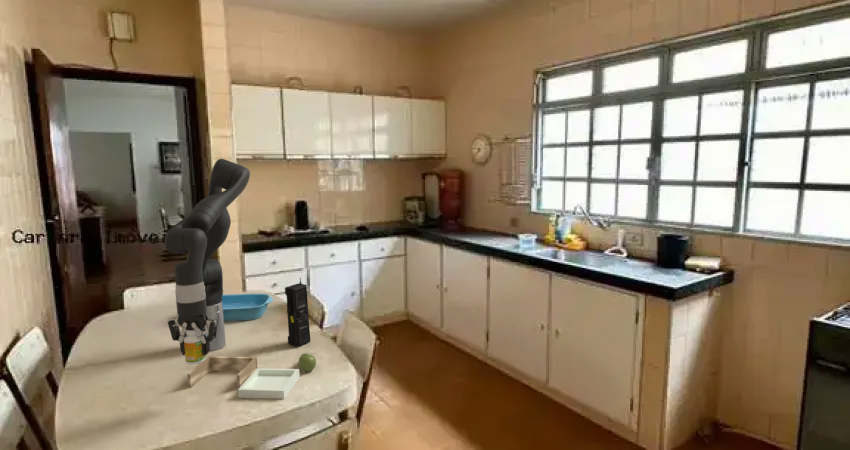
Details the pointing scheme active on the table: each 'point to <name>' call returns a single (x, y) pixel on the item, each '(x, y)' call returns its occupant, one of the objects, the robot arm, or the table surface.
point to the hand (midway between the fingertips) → (195, 353)
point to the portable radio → (297, 314)
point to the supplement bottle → (193, 348)
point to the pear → (307, 362)
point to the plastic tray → (269, 383)
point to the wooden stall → (224, 368)
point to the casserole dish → (244, 306)
